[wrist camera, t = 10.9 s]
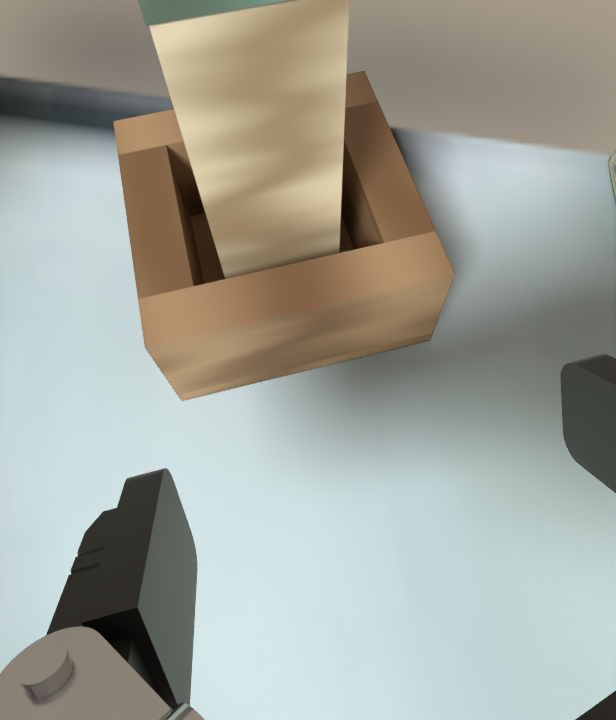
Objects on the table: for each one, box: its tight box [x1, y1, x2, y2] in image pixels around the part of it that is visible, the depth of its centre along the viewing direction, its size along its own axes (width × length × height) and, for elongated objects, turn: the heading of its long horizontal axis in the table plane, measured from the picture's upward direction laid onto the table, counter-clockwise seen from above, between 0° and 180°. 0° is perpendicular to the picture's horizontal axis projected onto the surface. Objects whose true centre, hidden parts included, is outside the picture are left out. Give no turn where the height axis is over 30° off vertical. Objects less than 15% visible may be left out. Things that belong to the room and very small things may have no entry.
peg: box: [138, 0, 349, 279], centre depth 16 cm, size 4×4×12 cm
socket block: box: [113, 71, 455, 401], centre depth 20 cm, size 10×10×4 cm
